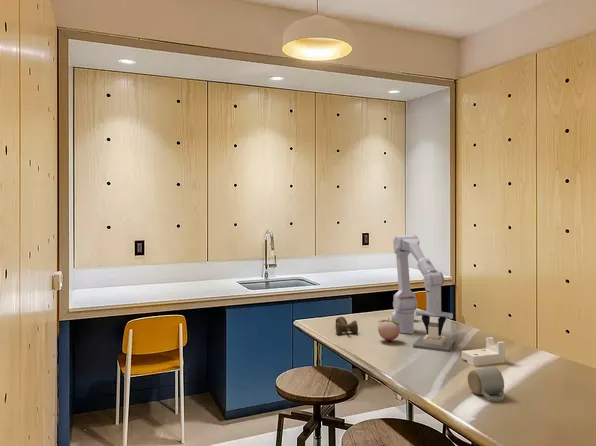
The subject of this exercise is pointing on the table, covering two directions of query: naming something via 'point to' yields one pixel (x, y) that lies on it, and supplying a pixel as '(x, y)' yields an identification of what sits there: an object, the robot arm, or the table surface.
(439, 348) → the outlet plate
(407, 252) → the robot arm
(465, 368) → the table surface
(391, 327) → the decorative fruit
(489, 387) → the ceramic mug
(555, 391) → the table surface
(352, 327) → the kendama
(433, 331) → the block
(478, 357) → the bracket
